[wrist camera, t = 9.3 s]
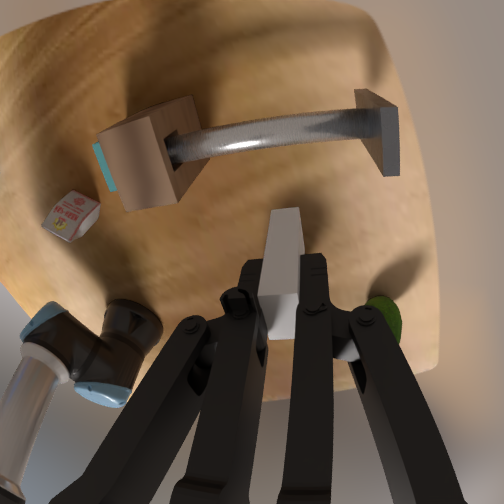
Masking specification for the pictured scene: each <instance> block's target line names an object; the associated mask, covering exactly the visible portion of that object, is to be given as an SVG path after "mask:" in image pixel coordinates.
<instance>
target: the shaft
mask: <svg viewBox="0 0 504 504" xmlns="http://www.w3.org/2000/svg"><path fill="white" fill-rule="evenodd" d="M354 93H355V101H356V109H340V110H327V111H317V112H307V113H298V114H290V115H282V116H275V117H268V118H261V119H255V120H249V121H243V122H237V123H232V124H227V125H222V126H217V127H212V128H207V129H202V130H198V131H193V132H189V133H185V134H180V135H176V136H172V137H168V138H164V143H165V146H166V149H167V152H168V155H169V158H170V161H171V164H172V165H174V164H179V163H184V162H189V161H194V160H199V159H204V158H209V157H215V156H221V155H226V154H232V153H238V152H245V151H251V150H258V149H265V148H273V147H280V146H288V145H297V144H306V143H316V142H327V141H338V140H352V139H360V140H361V141H362V143H363V144H364V146H365V147H366V149H367V151H368V152H369V154H370V155H371V157H372V159H373V160H374V162H375V163H376V165H377V167H378V168H379V170H380V172H381V173H382V175H383V177H386V176H400V143H399V119H398V107H397V106H395V105H394V104H392V103H390V102H389V101H387V100H385V99H384V98H382V97H380V96H379V95H377V94H375V93H373V92H372V91H370V90H368V89H354Z"/></svg>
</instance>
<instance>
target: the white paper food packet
mask: <svg viewBox="0 0 504 504" xmlns="http://www.w3.org/2000/svg"><path fill="white" fill-rule="evenodd" d="M100 205H101V203H99V202H97V201H95V200H93V199H91V198H89V197H87V196H85V195H83V194H81V193H79V192H77V191H75V190H72V191H70V192H69V193H68V194H67V195H66V196H65V197H63V198H62V199H61V200H60V201H59V202H58V203H57V204H55V205H54V207H53V208H52V210H51V211H50V213H49V214H48V216H47V218H46V219H45V220H44V222H43V223H42V224H41V225H42V226H41V227H43V228H44V229H46V230H48V231H50V232H51V233H53V234H55V235H57V236H58V237H60V238H62V239H64V240H66V241H67V242H69V243H71V242H72V241H73V240H75V239H77V238H79V237H82V236H83V235H84V234H85V233H86V231H87V230H88V229H89V228H90V227H91V226H92V225H93V224H94V223H95V222H96V221H97V219H98V218H99V211H100Z"/></svg>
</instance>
